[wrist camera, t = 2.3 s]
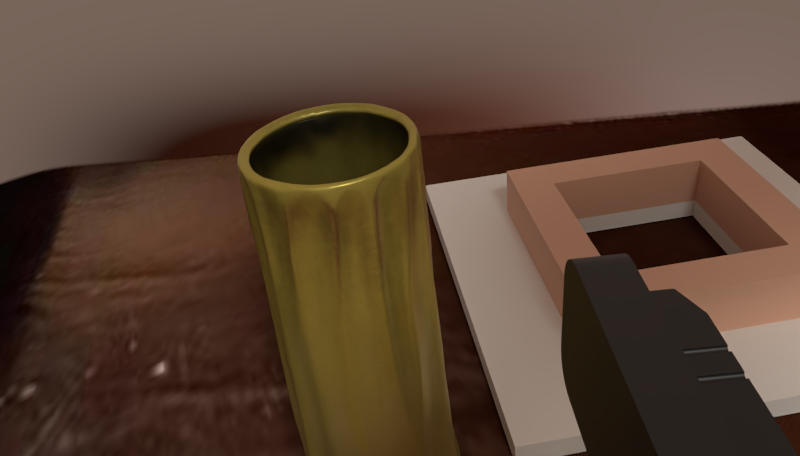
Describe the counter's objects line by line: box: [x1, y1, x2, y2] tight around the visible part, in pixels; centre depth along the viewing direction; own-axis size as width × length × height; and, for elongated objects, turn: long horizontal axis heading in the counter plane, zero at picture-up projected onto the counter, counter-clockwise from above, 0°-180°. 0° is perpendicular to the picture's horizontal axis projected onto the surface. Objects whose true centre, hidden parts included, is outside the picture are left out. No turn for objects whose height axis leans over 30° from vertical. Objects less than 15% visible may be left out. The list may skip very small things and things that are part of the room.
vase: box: [238, 103, 460, 456], centre depth 24 cm, size 6×6×14 cm
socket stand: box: [426, 136, 800, 456], centre depth 36 cm, size 20×20×4 cm
